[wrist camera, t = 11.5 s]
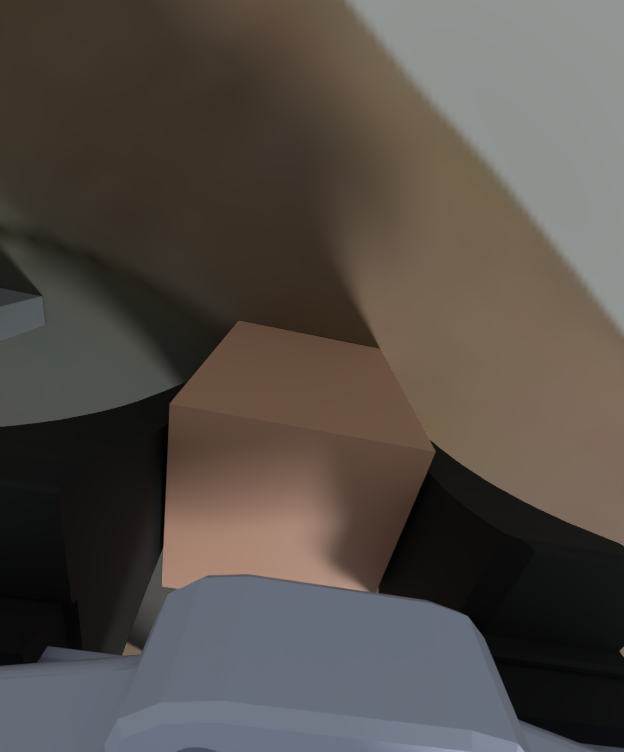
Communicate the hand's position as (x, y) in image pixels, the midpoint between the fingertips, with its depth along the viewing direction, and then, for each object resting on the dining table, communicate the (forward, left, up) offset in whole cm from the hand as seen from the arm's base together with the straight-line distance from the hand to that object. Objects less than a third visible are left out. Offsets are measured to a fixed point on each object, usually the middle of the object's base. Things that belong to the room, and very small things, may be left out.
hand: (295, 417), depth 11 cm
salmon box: (0, 0, -1) cm, 1 cm away
